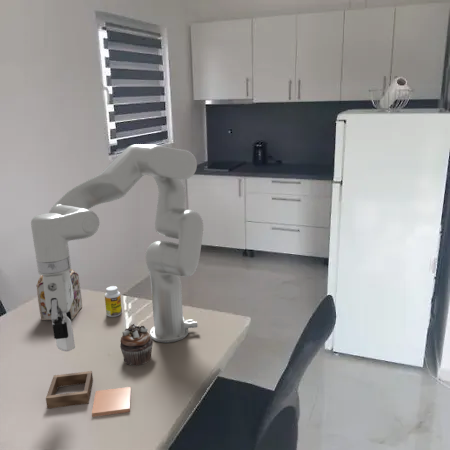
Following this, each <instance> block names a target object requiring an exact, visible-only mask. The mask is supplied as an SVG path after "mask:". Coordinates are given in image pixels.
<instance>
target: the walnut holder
mask: <svg viewBox="0 0 450 450" xmlns="http://www.w3.org/2000/svg"><path fill="white" fill-rule="evenodd" d="M93 382H94V377H93V371H92V370H89V371H81V372H71V373H63V374H62V373H61V374H57V375H56V374H55V375H53V377H52V379H51V382H50V384H49V387H48V391H47V393H46V397H45V401H46V402H45V403H46V409H47V410H48V409H55V408H64V407H71V406H79V405H86V404H87V405H88V404H89V403H90V400H91V399H90V397H91V393H92V390H93V389H92V388H93ZM76 385H77V386H78V385H84V388H83V389H84V390H83V391H75V392H68V393H67V392H66V393H61V394H60V393H58V394H57V392H58V389H59V388H61V387H69V386H76Z"/></svg>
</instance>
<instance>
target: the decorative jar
mask: <svg viewBox="0 0 450 450" xmlns="http://www.w3.org/2000/svg"><path fill="white" fill-rule="evenodd" d="M69 272H70V277H71V282H72V288H73V294H74V299H73V302H72V305H71V308H70V312H71V319H72V320H74V318H75V317H76V316H77V315H78V313H79V312H80V310H81V308H82V307H83V300H82V299H83V298H82V291H81V283H80V275H79V273H78V272H76V271H75V270H74V269H72V268H71V269H70V270H69ZM36 293H37V294H36V295H37V302H38V307H39V314H40V320H41V321H52V320H51V314H49V313H48V312H47V308H46V302H45V294H44V285H43V275H40V274H39V278H38V281H37V284H36ZM68 312H69V311H68Z"/></svg>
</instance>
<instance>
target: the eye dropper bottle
mask: <svg viewBox="0 0 450 450" xmlns="http://www.w3.org/2000/svg"><path fill="white" fill-rule="evenodd" d="M58 311H61V309H58ZM64 315H65V322H67V330H68V337H67V338H61V339H55V345H56V348H57V349H58V350H59V351H60V350H61V351H62V352H70V351H72V350H74V349H75V348H76V344H75V343H76V342H75V337H74V331H73V330H74V329H73V321H72V322H71V320H70V319H69V318H68V317H67V315H66V312H64ZM58 316H59V317H61V314H58ZM61 319H62V318H61Z"/></svg>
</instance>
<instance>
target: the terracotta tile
mask: <svg viewBox="0 0 450 450" xmlns="http://www.w3.org/2000/svg"><path fill="white" fill-rule="evenodd" d="M131 398H132V386H125V387H118V388H117V387H116V388H109V389H100V390H95V393H94V399H93V403H92V404H93V405H92V409H91V417H92V418H94V417H103V416H110V415H116V414H124V413H130V412H131Z"/></svg>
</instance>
